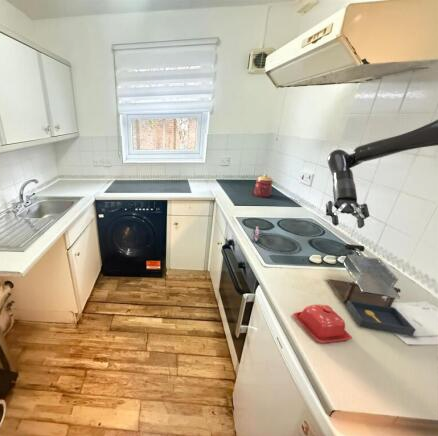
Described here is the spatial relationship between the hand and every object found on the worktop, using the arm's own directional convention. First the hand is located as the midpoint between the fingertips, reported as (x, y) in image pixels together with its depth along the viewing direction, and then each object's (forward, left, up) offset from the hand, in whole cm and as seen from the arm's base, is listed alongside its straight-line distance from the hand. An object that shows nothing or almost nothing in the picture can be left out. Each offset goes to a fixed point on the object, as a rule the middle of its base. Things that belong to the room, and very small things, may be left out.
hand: (348, 226), depth 96 cm
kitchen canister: (+14, -105, -19) cm, 107 cm away
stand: (0, +19, -19) cm, 27 cm away
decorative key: (+29, -23, -19) cm, 42 cm away
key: (+1, +32, -19) cm, 37 cm away
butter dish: (+19, +40, -19) cm, 48 cm away
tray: (0, +31, -19) cm, 37 cm away
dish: (0, +18, -10) cm, 20 cm away
